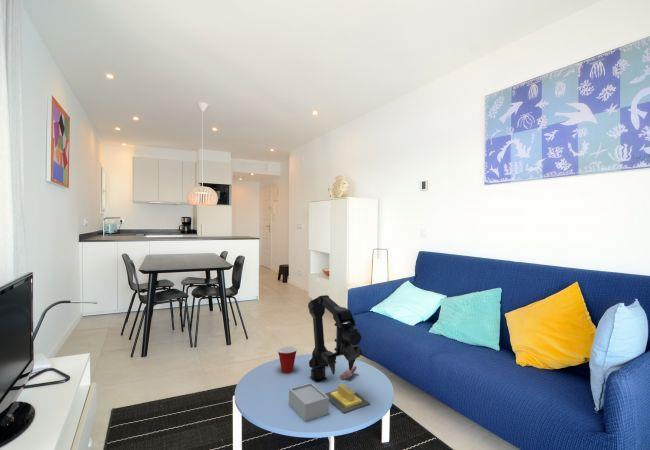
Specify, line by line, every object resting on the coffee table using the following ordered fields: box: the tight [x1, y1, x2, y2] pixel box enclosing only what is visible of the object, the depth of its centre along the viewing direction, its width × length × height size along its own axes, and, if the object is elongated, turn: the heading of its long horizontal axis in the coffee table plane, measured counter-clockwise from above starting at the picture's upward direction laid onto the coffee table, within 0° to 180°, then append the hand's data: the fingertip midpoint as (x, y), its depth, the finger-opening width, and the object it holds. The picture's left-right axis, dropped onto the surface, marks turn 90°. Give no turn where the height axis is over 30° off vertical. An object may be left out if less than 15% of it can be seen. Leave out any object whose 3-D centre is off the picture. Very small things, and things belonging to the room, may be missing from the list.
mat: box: [324, 389, 371, 414], centre depth 150 cm, size 14×17×1 cm
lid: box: [330, 383, 362, 408], centre depth 150 cm, size 8×12×4 cm
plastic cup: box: [276, 345, 298, 374], centre depth 179 cm, size 11×11×12 cm
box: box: [288, 382, 330, 423], centre depth 142 cm, size 11×15×7 cm
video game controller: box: [339, 364, 358, 380], centre depth 173 cm, size 10×5×7 cm, turn 149°
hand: (342, 372), depth 151 cm, fingers open, 9 cm apart
